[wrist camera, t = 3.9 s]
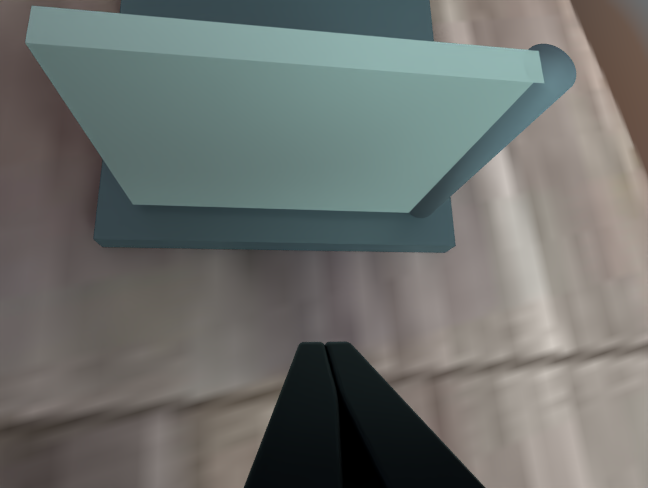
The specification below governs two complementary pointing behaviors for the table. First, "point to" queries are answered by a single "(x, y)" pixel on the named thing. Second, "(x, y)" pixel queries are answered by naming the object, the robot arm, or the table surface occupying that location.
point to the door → (289, 109)
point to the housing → (277, 224)
